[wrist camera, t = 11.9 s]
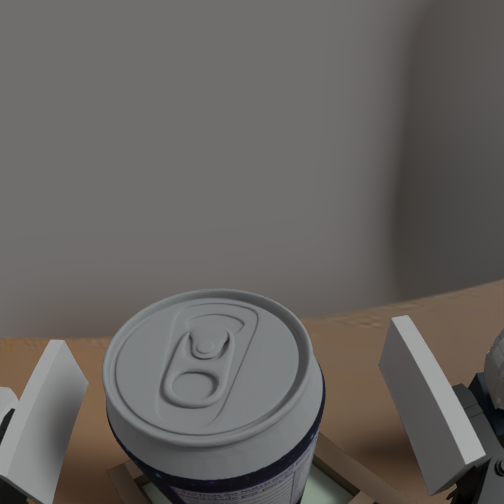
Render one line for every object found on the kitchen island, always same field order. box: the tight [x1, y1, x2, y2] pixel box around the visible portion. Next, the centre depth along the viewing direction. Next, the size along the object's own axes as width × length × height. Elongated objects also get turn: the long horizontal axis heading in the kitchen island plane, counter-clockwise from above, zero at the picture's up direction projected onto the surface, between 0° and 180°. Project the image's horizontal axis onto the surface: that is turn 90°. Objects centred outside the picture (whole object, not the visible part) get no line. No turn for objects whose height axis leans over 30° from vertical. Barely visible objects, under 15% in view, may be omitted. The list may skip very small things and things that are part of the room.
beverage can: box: [102, 289, 325, 504], centre depth 10 cm, size 6×6×12 cm
